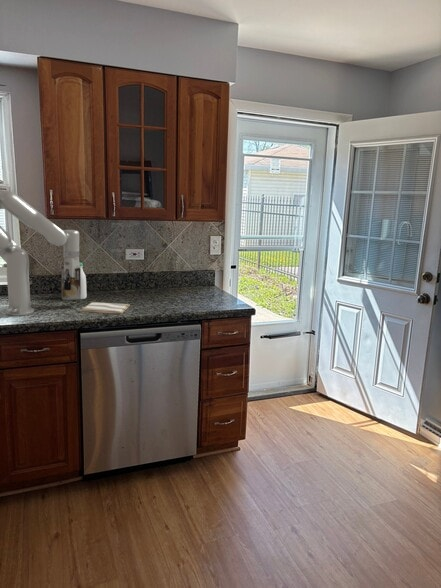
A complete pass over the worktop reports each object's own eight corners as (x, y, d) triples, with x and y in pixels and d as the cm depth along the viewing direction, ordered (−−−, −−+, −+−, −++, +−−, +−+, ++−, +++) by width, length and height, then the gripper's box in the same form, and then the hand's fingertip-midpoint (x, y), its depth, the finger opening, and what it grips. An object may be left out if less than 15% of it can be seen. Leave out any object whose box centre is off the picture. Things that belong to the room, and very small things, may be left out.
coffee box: (79, 296, 223) (80, 266, 219) (80, 299, 217) (81, 268, 214) (61, 297, 219) (61, 266, 216) (61, 299, 213) (61, 268, 210)
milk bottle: (88, 296, 241) (87, 262, 237) (84, 300, 234) (83, 264, 229) (74, 296, 241) (73, 261, 236) (70, 299, 233) (69, 263, 229)
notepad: (120, 314, 210) (120, 312, 210) (79, 311, 211) (79, 309, 211) (130, 305, 227) (130, 303, 226) (91, 303, 228) (91, 301, 227)
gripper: (71, 257, 205) (71, 292, 208) (85, 253, 222) (84, 285, 225) (56, 255, 205) (56, 290, 209) (71, 252, 222) (70, 284, 226)
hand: (71, 288), depth 217 cm, fingers closed on coffee box, 8 cm apart
